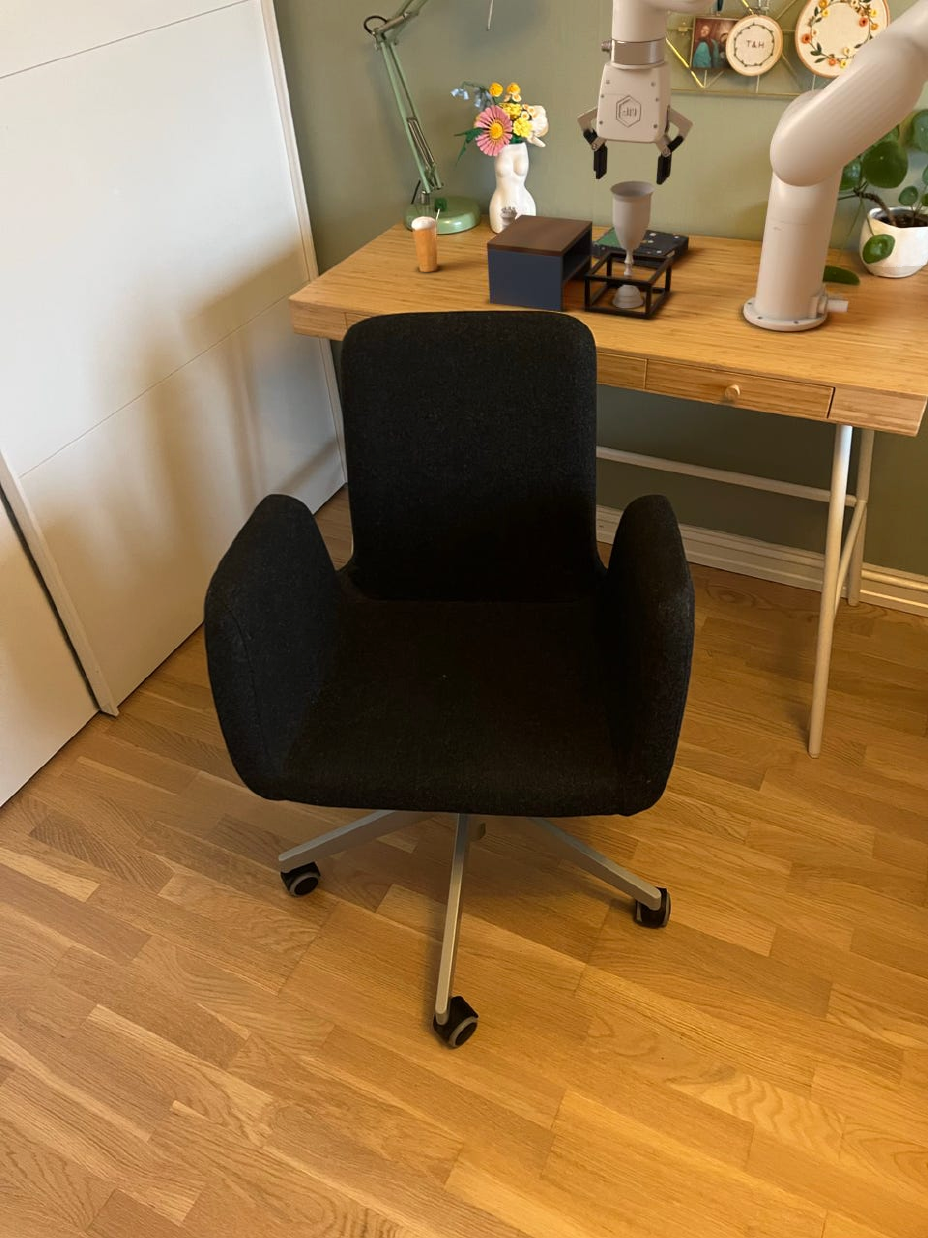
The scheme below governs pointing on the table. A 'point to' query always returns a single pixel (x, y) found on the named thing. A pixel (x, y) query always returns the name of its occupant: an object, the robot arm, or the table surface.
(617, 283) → the cup rack
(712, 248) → the table surface
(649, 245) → the disk drive
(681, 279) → the table surface
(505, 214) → the rook chess piece
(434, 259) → the milkshake
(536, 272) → the shelf
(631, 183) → the chalice
